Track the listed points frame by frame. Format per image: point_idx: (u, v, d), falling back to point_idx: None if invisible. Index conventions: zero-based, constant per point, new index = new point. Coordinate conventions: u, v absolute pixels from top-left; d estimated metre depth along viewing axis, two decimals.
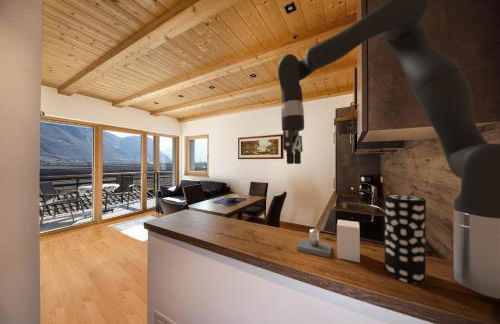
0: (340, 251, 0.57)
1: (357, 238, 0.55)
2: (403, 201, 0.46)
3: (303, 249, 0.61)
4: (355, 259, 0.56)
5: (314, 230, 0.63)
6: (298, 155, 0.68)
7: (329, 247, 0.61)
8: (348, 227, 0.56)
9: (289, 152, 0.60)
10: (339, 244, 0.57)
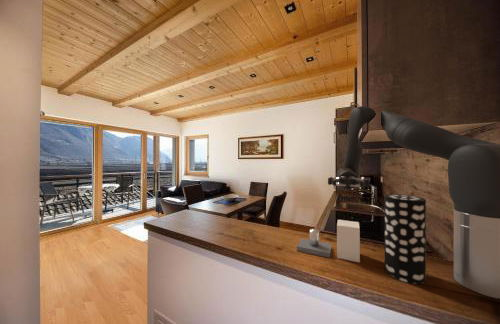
0: (340, 251, 0.57)
1: (357, 238, 0.55)
2: (403, 201, 0.46)
3: (303, 249, 0.61)
4: (355, 259, 0.56)
5: (314, 230, 0.63)
6: None
7: (329, 247, 0.61)
8: (348, 227, 0.56)
9: (332, 181, 0.74)
10: (339, 244, 0.57)
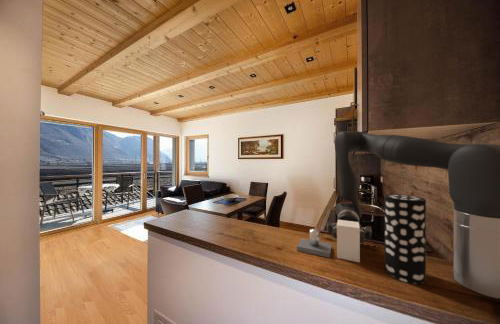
0: (340, 251, 0.57)
1: (357, 238, 0.55)
2: (403, 201, 0.46)
3: (303, 249, 0.61)
4: (355, 259, 0.56)
5: (314, 230, 0.63)
6: None
7: (329, 247, 0.61)
8: (348, 227, 0.56)
9: (333, 230, 0.62)
10: (339, 244, 0.57)
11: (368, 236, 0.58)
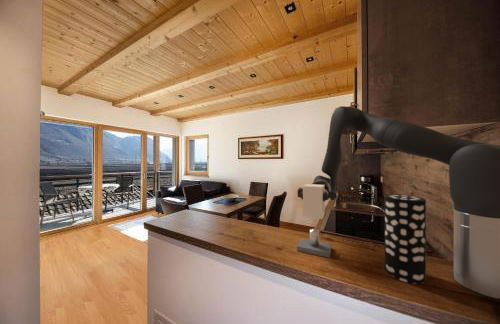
0: (306, 210, 0.62)
1: (320, 196, 0.59)
2: (403, 201, 0.46)
3: (303, 249, 0.61)
4: (318, 216, 0.60)
5: (314, 230, 0.63)
6: None
7: (329, 247, 0.61)
8: (312, 187, 0.61)
9: None
10: (305, 203, 0.62)
11: (332, 196, 0.62)
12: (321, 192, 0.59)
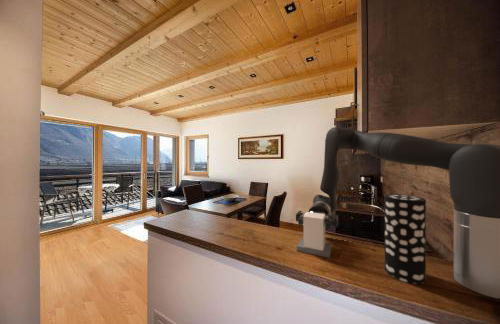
0: (306, 240, 0.61)
1: (321, 228, 0.59)
2: (403, 201, 0.46)
3: (303, 249, 0.61)
4: (319, 248, 0.60)
5: None
6: (326, 221, 0.62)
7: (329, 247, 0.61)
8: (313, 218, 0.60)
9: (299, 218, 0.67)
10: (305, 234, 0.62)
11: (335, 224, 0.62)
12: (322, 224, 0.59)
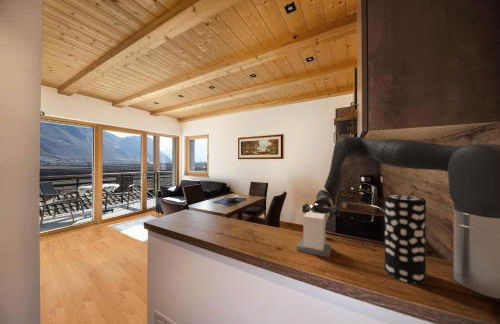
0: (306, 240, 0.61)
1: (321, 228, 0.59)
2: (403, 201, 0.46)
3: (303, 249, 0.61)
4: (319, 248, 0.60)
5: None
6: (330, 212, 0.74)
7: (329, 247, 0.61)
8: (313, 218, 0.60)
9: None
10: (305, 234, 0.62)
11: (338, 213, 0.74)
12: (322, 224, 0.59)
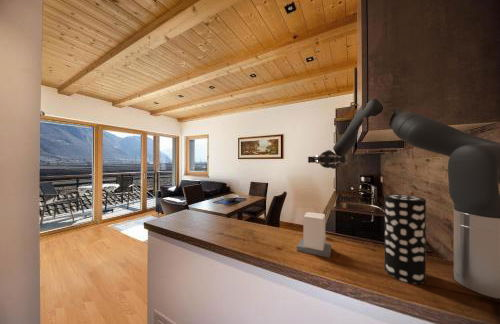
0: (306, 240, 0.61)
1: (321, 228, 0.59)
2: (403, 201, 0.46)
3: (303, 249, 0.61)
4: (319, 248, 0.60)
5: None
6: None
7: (329, 247, 0.61)
8: (313, 218, 0.60)
9: None
10: (305, 234, 0.62)
11: (344, 160, 0.74)
12: (322, 224, 0.59)
